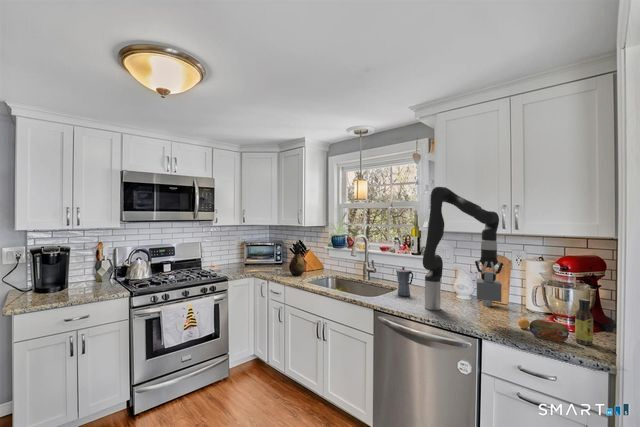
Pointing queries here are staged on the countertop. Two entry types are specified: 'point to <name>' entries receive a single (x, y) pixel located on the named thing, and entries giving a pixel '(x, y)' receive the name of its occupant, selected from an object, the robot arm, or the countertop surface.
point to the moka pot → (404, 282)
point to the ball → (523, 323)
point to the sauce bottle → (584, 323)
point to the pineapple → (297, 262)
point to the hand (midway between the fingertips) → (488, 280)
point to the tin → (549, 330)
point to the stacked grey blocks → (488, 288)
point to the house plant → (486, 303)
